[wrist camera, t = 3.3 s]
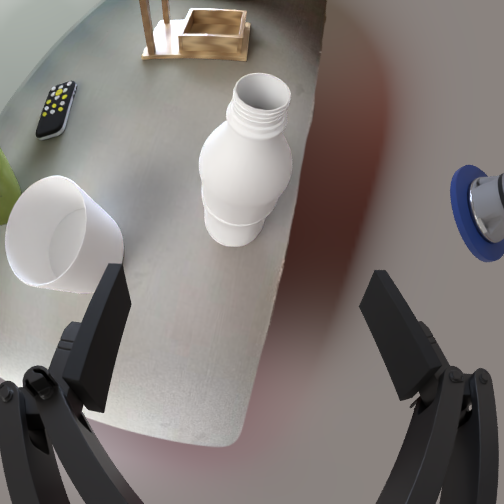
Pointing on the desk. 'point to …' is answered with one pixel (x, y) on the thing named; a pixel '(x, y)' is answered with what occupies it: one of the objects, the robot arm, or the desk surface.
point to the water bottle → (246, 160)
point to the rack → (196, 34)
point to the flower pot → (7, 189)
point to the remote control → (56, 110)
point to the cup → (61, 237)
